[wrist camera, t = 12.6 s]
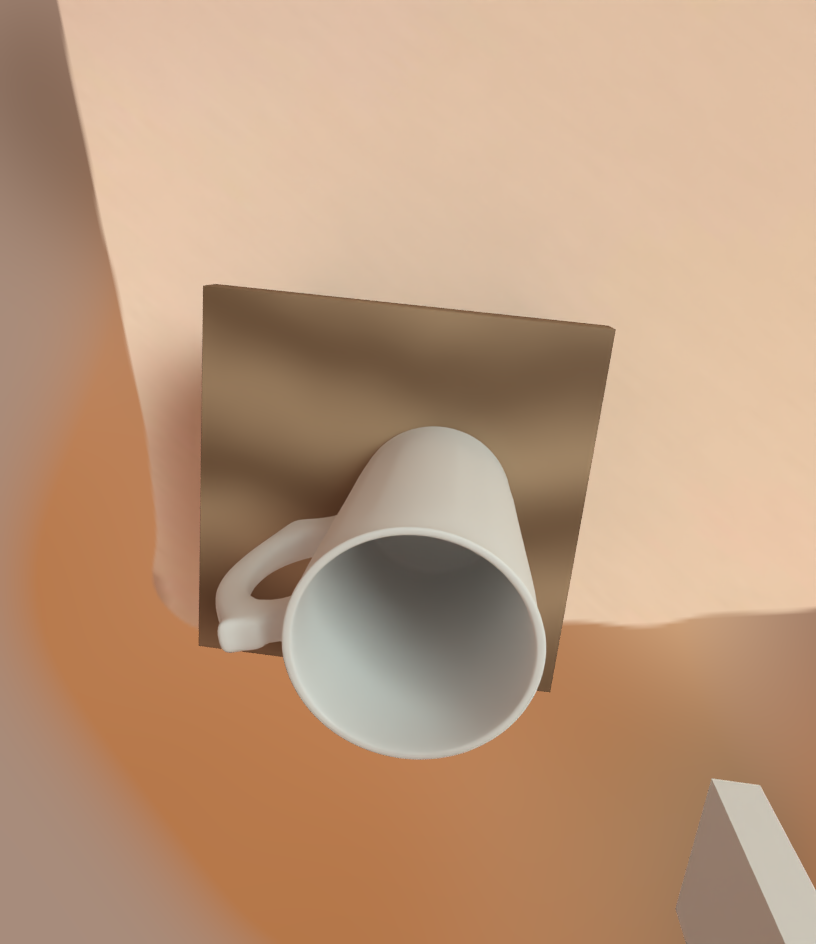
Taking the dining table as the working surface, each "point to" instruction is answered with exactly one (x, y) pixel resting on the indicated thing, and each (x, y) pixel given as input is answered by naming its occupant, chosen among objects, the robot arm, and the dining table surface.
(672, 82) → the dining table surface
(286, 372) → the small wooden stand
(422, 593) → the mug
